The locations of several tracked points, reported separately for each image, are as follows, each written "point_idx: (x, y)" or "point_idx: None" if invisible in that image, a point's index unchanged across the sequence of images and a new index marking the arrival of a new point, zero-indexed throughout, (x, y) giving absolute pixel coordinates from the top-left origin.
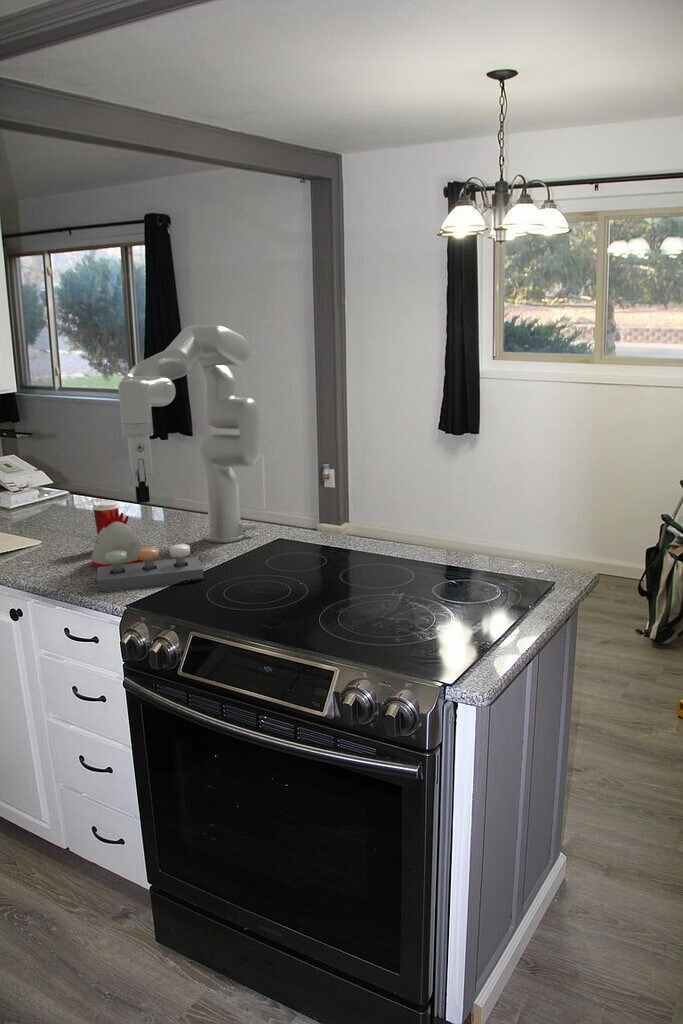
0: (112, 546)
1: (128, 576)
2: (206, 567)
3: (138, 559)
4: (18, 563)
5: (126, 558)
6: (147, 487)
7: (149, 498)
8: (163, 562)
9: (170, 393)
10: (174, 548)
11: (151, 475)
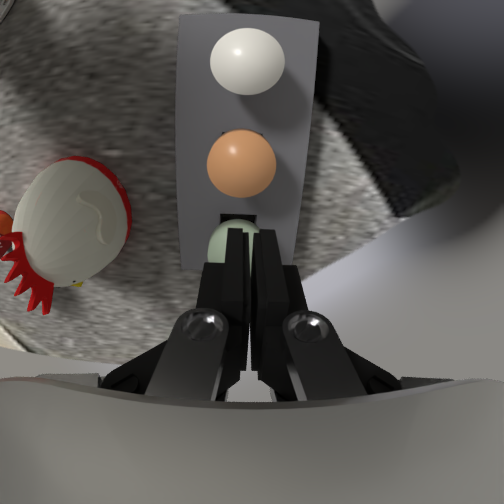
0: (102, 249)
1: (294, 210)
2: (196, 2)
3: (101, 171)
4: (75, 351)
5: (247, 223)
6: (286, 305)
7: (276, 239)
8: (200, 109)
9: None
10: (260, 79)
11: (478, 380)
